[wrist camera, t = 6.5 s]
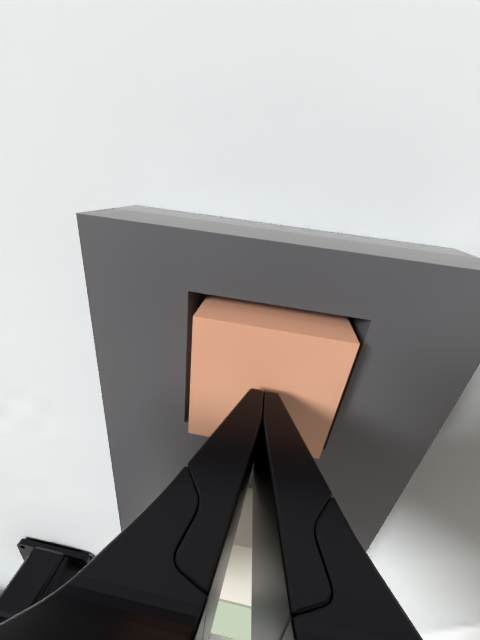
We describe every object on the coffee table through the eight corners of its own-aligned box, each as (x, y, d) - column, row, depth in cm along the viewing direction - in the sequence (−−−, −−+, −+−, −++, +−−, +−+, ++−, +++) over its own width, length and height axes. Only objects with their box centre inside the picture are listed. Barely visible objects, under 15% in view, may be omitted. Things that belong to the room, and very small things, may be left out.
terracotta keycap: (312, 407, 12) (319, 458, 9) (206, 387, 12) (188, 432, 10) (342, 307, 10) (359, 343, 7) (213, 287, 10) (192, 316, 8)
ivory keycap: (277, 546, 14) (276, 612, 12) (191, 526, 15) (174, 587, 13) (295, 491, 12) (297, 559, 10) (194, 470, 13) (175, 531, 11)
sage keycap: (256, 591, 19) (253, 644, 17) (192, 575, 20) (180, 625, 17) (266, 557, 17) (264, 612, 15) (194, 540, 18) (181, 591, 15)
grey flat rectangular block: (302, 585, 22) (305, 653, 18) (153, 550, 23) (132, 608, 19) (454, 249, 10) (531, 277, 7) (135, 205, 11) (76, 213, 8)
